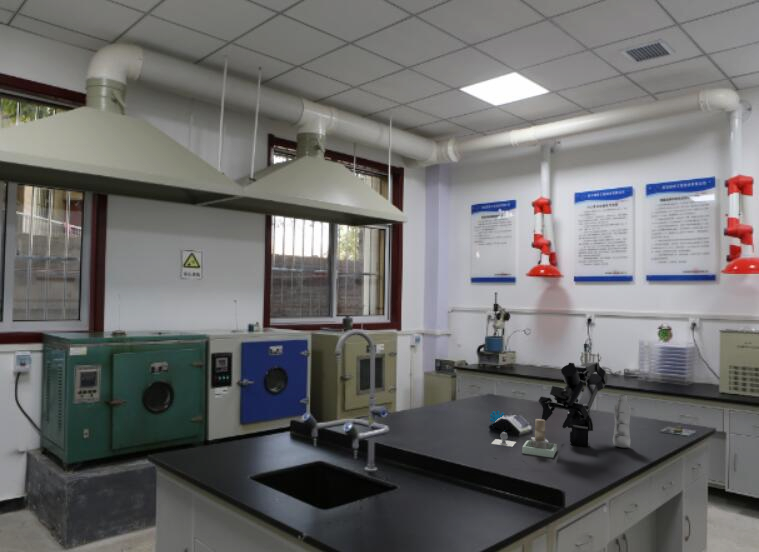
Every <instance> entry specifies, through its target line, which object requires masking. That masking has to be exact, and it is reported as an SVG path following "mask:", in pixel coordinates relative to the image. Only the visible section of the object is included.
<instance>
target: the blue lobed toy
mask: <svg viewBox="0 0 759 552" xmlns="http://www.w3.org/2000/svg"><path fill="white" fill-rule="evenodd" d="M504 415H505V413H504V412H503V411H502V412H500V410H496V411H494V410H493V411H491V413H490V415H489V417H490V418H489V422H492V423H491V425H492V424H493V423H495V421H496V420H497V419H498V418H500V417H502V416H504Z"/></svg>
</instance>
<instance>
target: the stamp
mask: <svg viewBox="0 0 759 552" xmlns="http://www.w3.org/2000/svg"><path fill="white" fill-rule="evenodd" d="M534 423H535V425H534V436H532V437H530V441H531V447H533V448H541V449H548V447H549V443H550V442H549V440H548V438H546V421H545V420H543V419H542V418H535V421H534Z"/></svg>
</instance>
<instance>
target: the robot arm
mask: <svg viewBox="0 0 759 552" xmlns="http://www.w3.org/2000/svg"><path fill="white" fill-rule="evenodd" d="M560 373H561V376H562V379H563V381H564V383H565V384H566V385H565V387H560V386H554V385H552V386H551V389H550V392H549V395H552V396H553V397H554V398H553V399H554V400H555V401H553V399H552V398H551V397H549V396H543V395H542V396H540V397H539V399H538V401H537V402H539V403H538V404H539V405H540V406H541V408H542V415H541V419H543V420H545V422H546V421H548V419H549V418H550V417H551V416H552V415H553V414H554V412H553V411H555V409H560V410H563V411H567V414H566V416H567V417H566V418H565V420H564V421H563V423H562V429H566V428H567V429H571V430H570V431H569V443H570V446H576V445H577V447H585V448H589V446H590V442H589V439H590V437H589V436H590V432H593V431H594V422H593V420H592V419H593V418H592V415H591V408H592V406H593V403H594V401H595V399H596V396H597V394H598V392H600V391H601V390H604V388H605V386H606V385H607V384H608V375H607V372H606V370H604V368H602V366H600V363H598V362H597V361H586V362H585V363H582V364H580V365H578V364H577V365H575V363H574V362H568V363H567V364H566V365H564V366H563V367H562V368H561V370H560ZM583 382H585V384H586V385H585V386H584V383H583ZM581 392H582V395H581ZM580 395H581V398H580V399H578V398H579V396H580Z"/></svg>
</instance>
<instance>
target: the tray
mask: <svg viewBox="0 0 759 552" xmlns="http://www.w3.org/2000/svg"><path fill="white" fill-rule="evenodd" d="M557 448H558V444H557V443H550V442H549V447H548V449H541V448H533V447H531V439H530V440H526V441H525V442H524V444H523V445H522V449H521V453H522V454H526V455H531V456H539V457H545V458H546V457H547V458H554V457H555V455H556V453H557Z"/></svg>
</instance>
